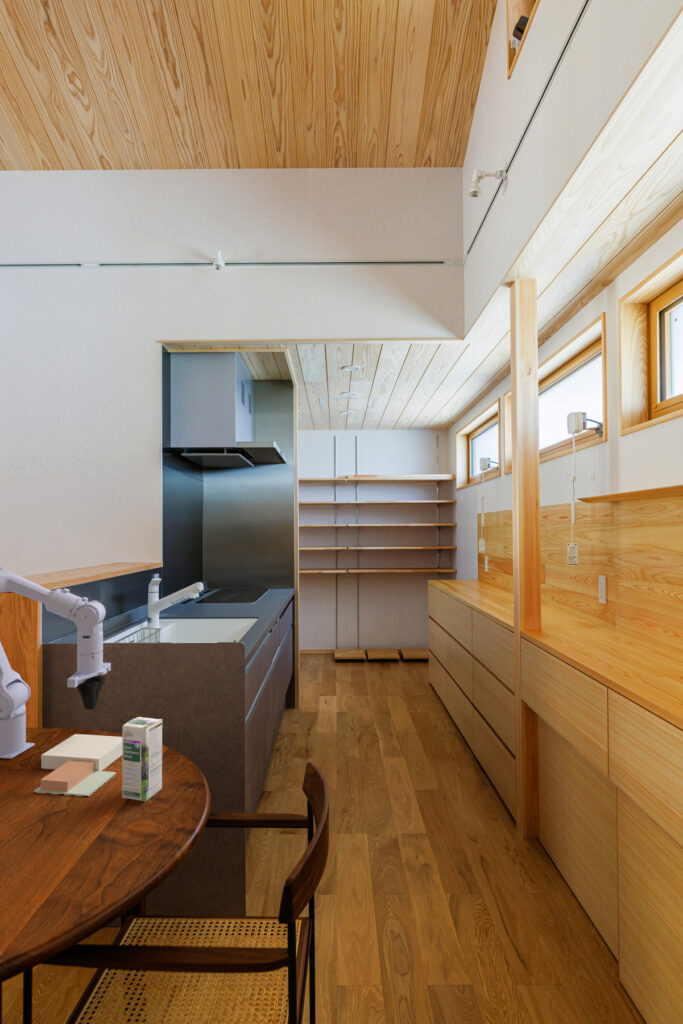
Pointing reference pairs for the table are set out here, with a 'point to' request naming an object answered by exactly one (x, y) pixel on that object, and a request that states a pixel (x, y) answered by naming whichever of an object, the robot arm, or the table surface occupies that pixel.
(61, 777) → the tile
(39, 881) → the table surface
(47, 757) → the white flat block
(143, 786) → the syrup box
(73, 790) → the mat
